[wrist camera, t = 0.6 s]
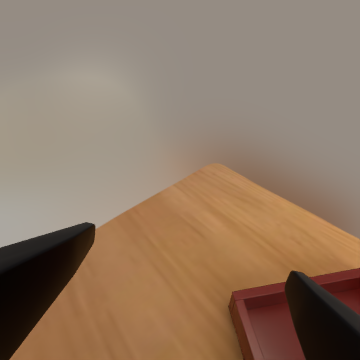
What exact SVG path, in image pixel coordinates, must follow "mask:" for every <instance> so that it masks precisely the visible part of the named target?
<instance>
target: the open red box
mask: <svg viewBox="0 0 360 360" xmlns="http://www.w3.org/2000/svg"><path fill="white" fill-rule="evenodd" d="M309 278H310V279H312V280H313V281H314V282H316V283H317V284H318V285H320V286H321V287H322V288H324V289H325V290H326V291H328V292H329V293H330V294H332V295H333V296H335V297H336V298H337V299H339V300H340V301H341V302H343V303H344V304H345V305H347V306H348V307H349V308H351V309H352V310H353V311H355V312H356V313H357V314H359V315H360V268H357V269H352V270H347V271H341V272H336V273H330V274H325V275H320V276H314V277H309ZM285 283H286V282H282V283H277V284H271V285H266V286H261V287H255V288H250V289H244V290H239V291H234V292H232V295H231V299H230V303H229V306H228V307H229V310H230V314H231V317H232V320H233V324H234V327H235V330H236V334H237V337H238V341H239V344H240V347H241V351H242V354H243V357H244V360H306V359H305V356H304V354H303V351H302V348H301V345H300V342H299V340H298V337H297V334H296V331H295V328H294V325H293V321H292V317H291V314H290V310H289V306H288V302H287V298H286V294H285V290H284V287H285Z"/></svg>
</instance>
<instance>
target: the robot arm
mask: <svg viewBox="0 0 360 360" xmlns="http://www.w3.org/2000/svg"><path fill="white" fill-rule="evenodd" d="M94 238H95V225H94V224H92V223H87V222H85V223H82V224H78V225H75V226H72V227H68V228H65V229H62V230H58V231H55V232H52V233H48V234H45V235H42V236H38V237H35V238H31V239H28V240H25V241H21V242H18V243H15V244H11V245H8V246H5V247H1V248H0V360H9V359H10V358H11V357H12V355H13V354H14V353H15V351H16V350H17V349H18V348H19V346H20V345H21V344H22V342H23V341H24V340H25V338H26V337H27V336H28V334H29V333H30V332H31V331H32V329H33V328H34V327H35V325H36V324H37V323H38V321H39V320H40V319H41V318H42V316H43V315H44V314H45V312H46V311H47V310H48V308H49V307H50V306H51V304H52V303H53V302H54V301H55V299H56V298H57V297H58V295H59V294H60V293H61V291H62V290H63V289H64V287H65V286H66V285H67V284H68V282H69V281H70V280H71V278H72V277H73V276H74V274H75V273H76V271H77V270H78V268H79V266H80V265H81V263H82V261H83V260H84V258H85V257H86V255H87V253H88V252H89V250H90V248H91V247H92V245H93V243H94ZM284 290H285V294H286V298H287V302H288V306H289V310H290V314H291V317H292V321H293V325H294V328H295V331H296V334H297V337H298V340H299V342H300V345H301V348H302V351H303V354H304V356H305V359H306V360H360V315H359V314H357V313H356V312H355V311H353V310H352V309H351V308H349V307H348V306H347V305H345V304H344V303H343V302H341V301H340V300H339V299H337V298H336V297H335V296H333V295H332V294H330V293H329V292H328V291H326V290H325V289H324V288H322V287H321V286H320V285H318V284H317V283H316V282H314V281H313V280H312V279H310V278H309V277H308V276H306V275H305V274H304V273H302V272H298V271H291V272H290V274H289V276H288V279H287V281H286V283H285V287H284Z"/></svg>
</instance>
